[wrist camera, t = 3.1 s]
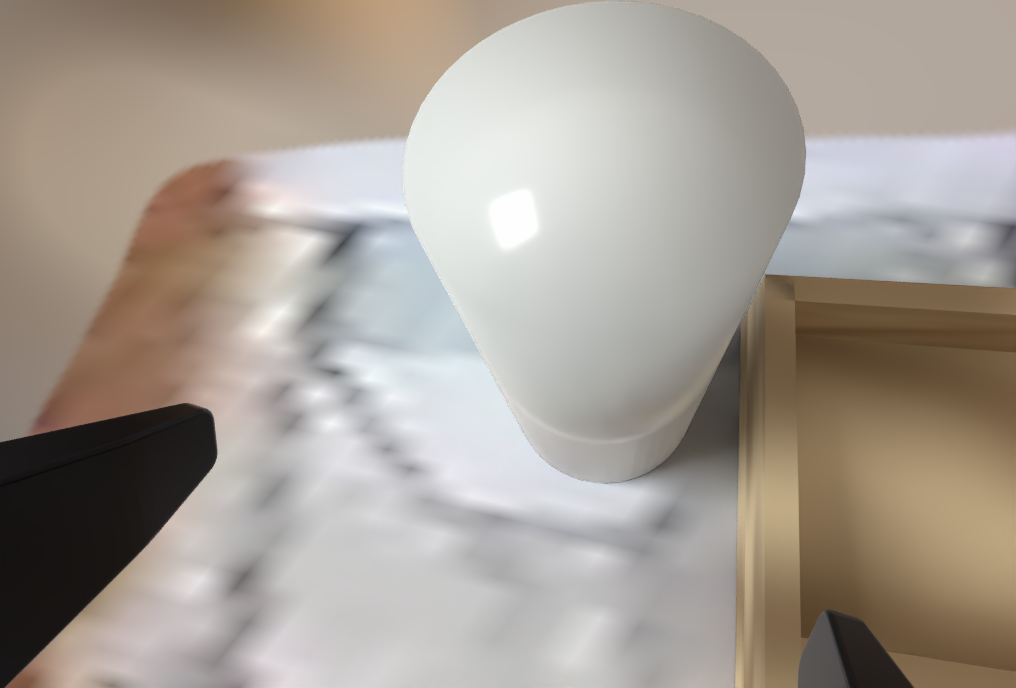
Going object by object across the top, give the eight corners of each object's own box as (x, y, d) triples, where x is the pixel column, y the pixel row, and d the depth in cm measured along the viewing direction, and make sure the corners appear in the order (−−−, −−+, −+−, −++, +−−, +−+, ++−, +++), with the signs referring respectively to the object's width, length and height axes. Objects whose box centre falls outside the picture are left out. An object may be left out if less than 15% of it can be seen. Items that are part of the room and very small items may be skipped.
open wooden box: (1305, 1283, 12) (1569, 1542, 9) (728, 1107, 14) (764, 1264, 11) (1110, 351, 19) (1215, 299, 16) (740, 324, 22) (765, 274, 18)
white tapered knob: (688, 493, 20) (811, 347, 8) (504, 471, 21) (365, 314, 9) (695, 321, 22) (801, -4, 10) (527, 309, 23) (439, 4, 11)
